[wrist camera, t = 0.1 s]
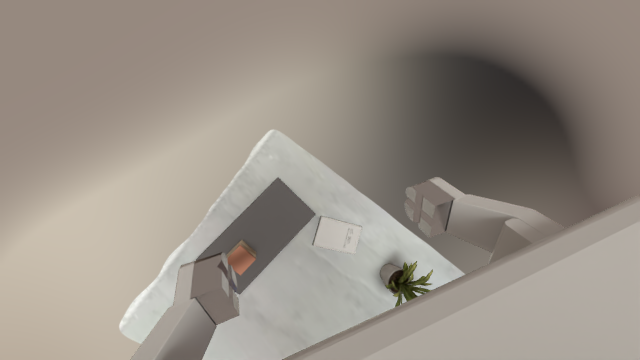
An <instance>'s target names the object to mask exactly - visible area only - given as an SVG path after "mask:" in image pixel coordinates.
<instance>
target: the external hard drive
mask: <svg viewBox="0 0 640 360" xmlns="http://www.w3.org/2000/svg"><path fill="white" fill-rule="evenodd" d="M361 230H362V227H361V226H358V225H354V224H351V223H347V222H343V221H339V220H335V219H331V218H327V217H323V216H321V217H320V220H319V224H318V227H317V231H316V234H315V238H314V241H313V244H312V245H313V246H318V247H322V248H327V249H331V250H336V251H340V252H345V253H349V254H355V251H356V248H357V244H358V241H359V237H360V234H361Z"/></svg>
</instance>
